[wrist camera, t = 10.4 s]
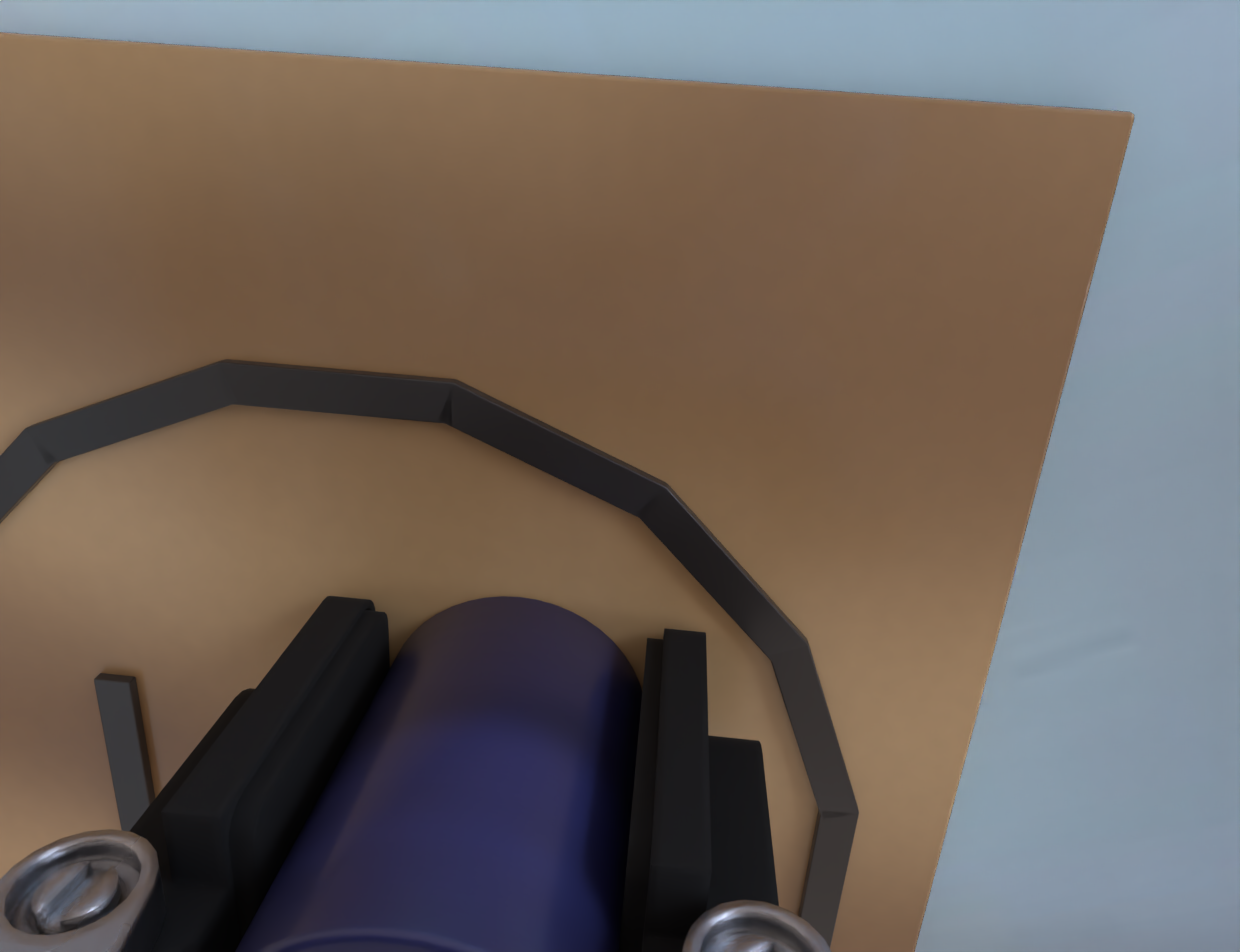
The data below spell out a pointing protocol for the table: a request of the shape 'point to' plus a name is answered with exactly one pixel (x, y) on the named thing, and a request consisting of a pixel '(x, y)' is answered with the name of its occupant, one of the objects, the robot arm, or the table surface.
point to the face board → (528, 405)
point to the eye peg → (473, 797)
